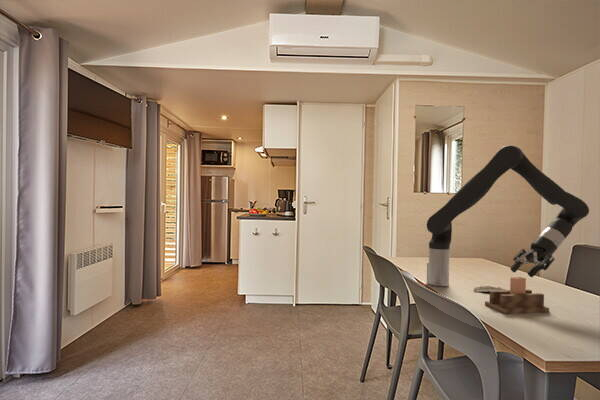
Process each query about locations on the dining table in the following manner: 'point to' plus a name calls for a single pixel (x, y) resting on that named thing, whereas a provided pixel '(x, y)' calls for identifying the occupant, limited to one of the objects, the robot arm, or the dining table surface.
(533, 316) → the dining table surface
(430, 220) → the robot arm
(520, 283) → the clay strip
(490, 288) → the stone fragment
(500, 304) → the walnut rack
